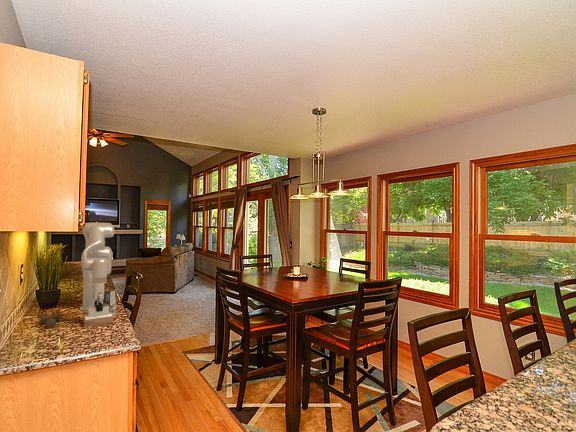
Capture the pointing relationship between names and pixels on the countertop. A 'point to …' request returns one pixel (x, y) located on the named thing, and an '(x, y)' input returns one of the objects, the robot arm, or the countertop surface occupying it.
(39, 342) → the countertop surface
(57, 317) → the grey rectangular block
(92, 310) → the housing
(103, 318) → the stand
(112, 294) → the coffee box
